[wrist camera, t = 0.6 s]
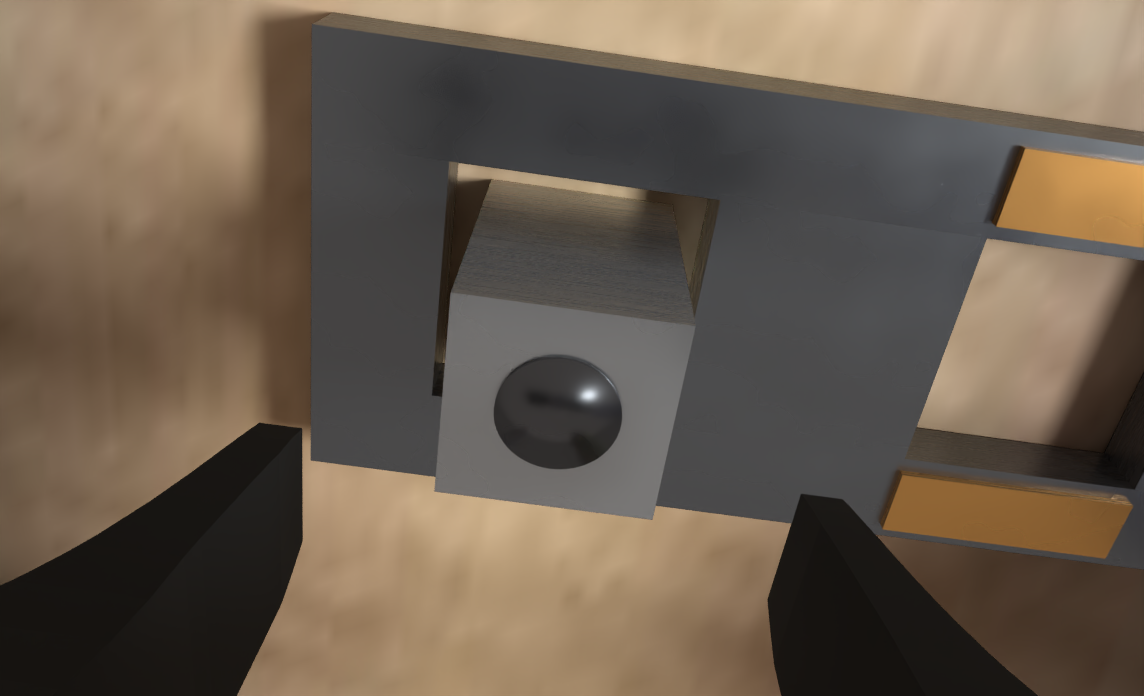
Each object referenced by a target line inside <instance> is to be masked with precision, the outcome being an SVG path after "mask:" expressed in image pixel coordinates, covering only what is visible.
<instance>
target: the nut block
mask: <svg viewBox="0 0 1144 696" xmlns="http://www.w3.org/2000/svg"><path fill="white" fill-rule="evenodd" d="M695 327H696V325H695V320H694V315H693V309H692V304H691V299H690V294H689V289H688V284H687V278H686V273H685V268H684V263H683V258H682V252H681V247H680V242H679V237H678V232H677V227H676V221H675V216H674V211H673V206H672V205H670V204H663V203H656V202H649V201H642V200H635V199H628V198H621V197H614V196H607V195H600V194H593V193H586V192H579V191H572V190H565V189H558V188H551V187H544V186H537V185H530V184H523V183H516V182H509V181H501V180H494V179H492V180H491V183H490V185H489V188H488V191H487V194H486V196H485V199H484V202H483V205H482V207H481V210H480V213H479V216H478V218H477V221H476V224H475V227H474V230H473V232H472V235H471V238H470V241H469V243H468V246H467V249H466V252H465V254H464V257H463V260H462V263H461V265H460V268H459V271H458V274H457V277H456V279H455V282H454V285H453V288H452V290H451V295H450V307H449V320H448V332H447V344H446V357H445V369H444V381H443V394H442V406H441V418H440V431H439V443H438V455H437V467H436V480H435V492H442V493H450V494H458V495H465V496H473V497H481V498H488V499H496V500H504V501H512V502H519V503H527V504H535V505H542V506H550V507H558V508H565V509H573V510H581V511H588V512H596V513H604V514H612V515H619V516H627V517H635V518H642V519H650V520H652V519H653V515H654V510H655V506H656V501H657V497H658V492H659V488H660V484H661V479H662V475H663V470H664V466H665V461H666V457H667V452H668V448H669V443H670V439H671V434H672V430H673V425H674V421H675V417H676V412H677V408H678V403H679V399H680V394H681V390H682V385H683V381H684V376H685V372H686V367H687V363H688V359H689V354H690V350H691V345H692V341H693V336H694V332H695Z"/></svg>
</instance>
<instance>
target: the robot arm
mask: <svg viewBox="0 0 1144 696" xmlns="http://www.w3.org/2000/svg"><path fill="white" fill-rule="evenodd" d="M302 541H303V531H302V428H295V427H288V426H280V425H272V424H265V423H258V424H257V425H256V426H254V427H253V428H251V429H250V430H248V431H247V432H246V433H244V434H243V435H241V436H240V437H239V438H237V439H236V440H235V441H233V442H232V443H230V444H229V445H228V446H226V447H225V448H224V449H222V450H221V451H220V452H218V453H217V454H216V455H214V456H213V457H212V458H210V459H209V460H207V461H206V462H205V463H203V464H202V465H201V466H199V467H198V468H197V469H195V470H194V471H192V472H191V473H190V474H188V475H187V476H185V477H184V478H183V479H181V480H180V481H178V482H177V483H175V484H174V485H173V486H171V487H170V488H168V489H167V490H166V491H164V492H163V493H161V494H160V495H158V496H157V497H156V498H154V499H153V500H151V501H150V502H148V503H147V504H145V505H143V506H142V507H140V508H139V509H137V510H136V511H134V512H132V513H131V514H129V515H128V516H126V517H125V518H123V519H121V520H120V521H118V522H117V523H115V524H114V525H112V526H110V527H109V528H107V529H106V530H104V531H103V532H101V533H99V534H98V535H96V536H94V537H93V538H91V539H89V540H87V541H86V542H84V543H82V544H80V545H79V546H77V547H75V548H73V549H71V550H70V551H68V552H66V553H64V554H62V555H61V556H59V557H57V558H55V559H53V560H51V561H49V562H47V563H45V564H43V565H41V566H39V567H37V568H36V569H34V570H32V571H30V572H28V573H26V574H24V575H22V576H20V577H18V578H16V579H14V580H12V581H9V582H7V583H5V584H3V585H0V696H237V694H238V692H239V690H240V688H241V686H242V684H243V682H244V680H245V678H246V676H247V674H248V672H249V670H250V668H251V666H252V664H253V662H254V659H255V657H256V655H257V653H258V651H259V649H260V647H261V645H262V643H263V641H264V639H265V637H266V635H267V633H268V631H269V629H270V627H271V624H272V622H273V620H274V618H275V616H276V614H277V612H278V610H279V608H280V605H281V603H282V601H283V598H284V595H285V592H286V589H287V586H288V583H289V581H290V578H291V575H292V572H293V569H294V566H295V563H296V559H297V556H298V553H299V550H300V547H301V544H302ZM768 610H769V621H770V632H771V641H772V650H773V658H774V665H775V670H776V674H777V679H778V683H779V687H780V692H781V696H1038V695H1037V694H1035V693H1034V692H1033V691H1032V690H1031V689H1029V688H1028V687H1027V686H1026V685H1025V684H1023V683H1022V682H1021V681H1020V680H1019V679H1017V678H1016V677H1015V676H1014V675H1013V674H1012V673H1010V672H1009V671H1008V670H1007V669H1006V668H1005V667H1004V666H1002V665H1001V664H1000V663H999V662H998V661H997V660H996V659H995V658H994V657H992V656H991V655H990V654H989V653H988V652H987V651H986V650H985V649H984V648H983V647H982V646H981V645H980V644H979V643H978V642H977V641H976V640H975V639H974V638H972V637H971V636H970V635H969V634H968V633H967V632H966V631H965V630H964V629H963V628H962V627H961V626H960V625H959V624H958V623H957V622H956V621H955V620H954V619H953V618H952V617H951V616H950V615H949V614H948V613H947V612H946V611H945V610H944V609H943V608H942V607H941V606H940V605H939V604H938V603H937V602H936V601H935V600H934V599H933V598H932V596H931V595H930V594H929V593H928V592H927V591H926V590H925V589H924V588H923V587H922V586H921V585H920V584H919V583H918V582H917V580H916V579H915V578H914V577H913V576H912V575H911V574H910V573H909V572H908V571H907V570H906V568H905V567H904V566H903V565H902V564H901V563H900V562H899V561H898V560H897V559H896V557H895V556H894V555H893V554H892V553H891V552H890V551H889V550H888V548H887V547H886V546H885V545H884V544H883V543H882V542H881V541H880V539H879V538H878V537H877V536H876V535H875V534H874V533H873V532H872V530H871V529H870V528H869V527H868V526H867V525H866V524H865V523H864V521H863V520H862V519H861V518H860V517H859V516H858V515H857V514H856V513H855V512H854V510H853V509H852V508H851V507H850V506H849V505H848V504H847V503H846V502H845V501H844V500H843V499H838V498H831V497H823V496H815V495H808V494H801V495H800V499H799V502H798V505H797V508H796V511H795V514H794V518H793V521H792V524H791V527H790V530H789V533H788V537H787V540H786V543H785V546H784V549H783V552H782V556H781V559H780V562H779V565H778V568H777V571H776V575H775V578H774V581H773V584H772V587H771V590H770V594H769V597H768Z"/></svg>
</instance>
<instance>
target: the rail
mask: <svg viewBox="0 0 1144 696" xmlns="http://www.w3.org/2000/svg"><path fill="white" fill-rule="evenodd" d="M458 163H464V164H471V165H478V166H485V167H492V168H499V169H506V170H513V171H520V172H527V173H534V174H541V175H548V176H555V177H562V178H569V179H576V180H583V181H590V182H597V183H604V184H611V185H618V186H625V187H632V188H639V189H646V190H653V191H660V192H667V193H674V194H681V195H688V196H695V197H702V198H709V199H708V204H707V208H706V213H705V218H704V222H703V227H702V232H701V236H700V241H699V246H698V250H697V255H696V260H695V264H694V269H693V273H692V278H691V283H690V287H689V294H690V299H691V304H692V309H693V315H694V320H695V325H696V327H695V332H694V336H693V341H692V345H691V350H690V354H689V359H688V363H687V367H686V372H685V376H684V381H683V385H682V390H681V394H680V399H679V403H678V408H677V412H676V417H675V421H674V425H673V430H672V434H671V439H670V443H669V448H668V452H667V457H666V461H665V466H664V470H663V475H662V479H661V484H660V488H659V492H658V497H657V501H656V506H663V507H670V508H678V509H685V510H693V511H701V512H708V513H716V514H724V515H731V516H739V517H746V518H754V519H762V520H769V521H777V522H785V523H792V521H793V518H794V514H795V511H796V508H797V505H798V502H799V499H800V495H801V494H808V495H815V496H823V497H831V498H838V499H843V500H844V501H845V502H846V503H847V504H848V505H849V506H850V507H851V508H852V509H853V510H854V512H855V513H856V514H857V515H858V516H859V517H860V518H861V519H862V520H863V521H864V523H865V524H866V525H867V526H868V527H869V528H870V529H871V530H872V532H873V533H874V534H876V535H884V536H891V537H899V538H907V539H914V540H922V541H929V542H937V543H945V544H952V545H960V546H968V547H975V548H983V549H990V550H998V551H1006V552H1013V553H1021V554H1028V555H1036V556H1044V557H1051V558H1059V559H1067V560H1074V561H1082V562H1089V563H1097V564H1105V565H1112V566H1120V567H1128V568H1135V569H1143V570H1144V374H1143V376H1142V378H1141V380H1140V382H1139V384H1138V386H1137V388H1136V390H1135V392H1134V394H1133V396H1132V398H1131V400H1130V402H1129V404H1128V406H1127V408H1126V410H1125V412H1124V414H1123V416H1122V418H1121V420H1120V422H1119V424H1118V426H1117V428H1116V430H1115V432H1114V434H1113V436H1112V438H1111V440H1110V442H1109V444H1108V446H1107V448H1106V450H1105V452H1104V453H1098V452H1091V451H1084V450H1076V449H1069V448H1061V447H1054V446H1047V445H1039V444H1032V443H1025V442H1017V441H1010V440H1002V439H995V438H988V437H980V436H973V435H965V434H958V433H951V432H943V431H936V430H928V429H921V428H916V427H917V424H918V421H919V419H920V416H921V413H922V411H923V408H924V405H925V403H926V400H927V397H928V395H929V392H930V389H931V387H932V384H933V381H934V379H935V376H936V373H937V371H938V368H939V365H940V362H941V360H942V357H943V354H944V352H945V349H946V346H947V344H948V341H949V338H950V336H951V333H952V330H953V328H954V325H955V322H956V320H957V317H958V314H959V312H960V309H961V306H962V303H963V301H964V298H965V295H966V293H967V290H968V287H969V285H970V282H971V279H972V277H973V274H974V271H975V269H976V266H977V263H978V261H979V258H980V255H981V253H982V250H983V247H984V244H985V242H986V239H987V238H989V239H996V240H1003V241H1010V242H1017V243H1024V244H1031V245H1038V246H1045V247H1052V248H1059V249H1066V250H1073V251H1080V252H1087V253H1094V254H1101V255H1108V256H1115V257H1122V258H1129V259H1136V260H1143V261H1144V132H1140V131H1133V130H1126V129H1119V128H1112V127H1106V126H1099V125H1092V124H1085V123H1079V122H1072V121H1065V120H1058V119H1051V118H1045V117H1038V116H1031V115H1024V114H1018V113H1011V112H1004V111H997V110H991V109H984V108H977V107H970V106H963V105H957V104H950V103H943V102H936V101H930V100H923V99H916V98H909V97H902V96H896V95H889V94H882V93H875V92H869V91H862V90H855V89H848V88H841V87H835V86H828V85H821V84H814V83H808V82H801V81H794V80H787V79H780V78H774V77H767V76H760V75H753V74H747V73H740V72H733V71H726V70H720V69H713V68H706V67H699V66H692V65H686V64H679V63H672V62H665V61H659V60H652V59H645V58H638V57H631V56H625V55H618V54H611V53H604V52H598V51H591V50H584V49H577V48H570V47H564V46H557V45H550V44H543V43H537V42H530V41H523V40H516V39H509V38H503V37H496V36H489V35H482V34H476V33H469V32H462V31H455V30H449V29H442V28H435V27H428V26H421V25H415V24H408V23H401V22H394V21H388V20H381V19H374V18H367V17H360V16H354V15H347V14H340V13H331V14H329V15H327V16H326V17H324V18H322V19H320V20H318V21H316V22H315V23H313V24H312V152H311V460H312V461H320V462H327V463H335V464H342V465H350V466H358V467H365V468H373V469H381V470H388V471H396V472H403V473H411V474H419V475H426V476H434V477H436V467H437V455H438V443H439V431H440V418H441V406H442V394H443V381H444V369H445V364H442V361H443V348H444V336H445V323H446V311H447V298H448V285H449V273H450V260H451V248H452V235H453V223H454V210H455V197H456V185H457V172H458Z"/></svg>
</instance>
